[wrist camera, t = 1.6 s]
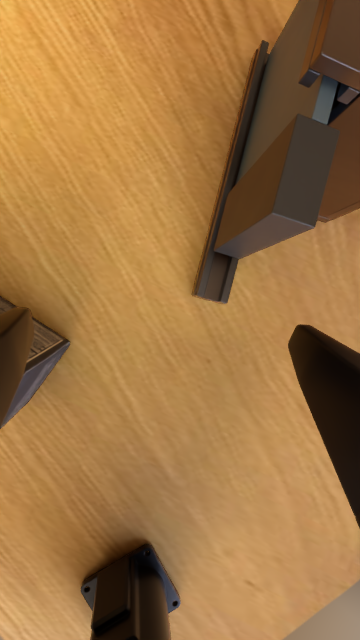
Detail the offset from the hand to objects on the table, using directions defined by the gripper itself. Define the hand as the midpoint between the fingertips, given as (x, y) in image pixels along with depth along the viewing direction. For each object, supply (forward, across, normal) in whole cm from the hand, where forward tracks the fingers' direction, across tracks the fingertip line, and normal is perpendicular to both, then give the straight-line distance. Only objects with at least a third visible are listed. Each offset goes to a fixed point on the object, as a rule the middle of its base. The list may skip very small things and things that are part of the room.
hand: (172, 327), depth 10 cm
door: (+18, -7, -4) cm, 20 cm away
